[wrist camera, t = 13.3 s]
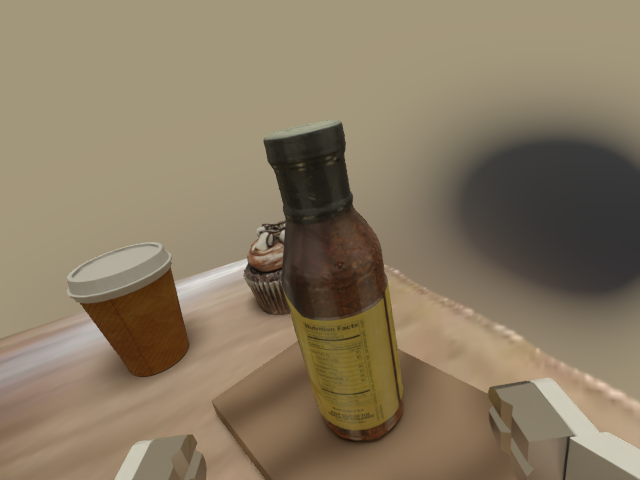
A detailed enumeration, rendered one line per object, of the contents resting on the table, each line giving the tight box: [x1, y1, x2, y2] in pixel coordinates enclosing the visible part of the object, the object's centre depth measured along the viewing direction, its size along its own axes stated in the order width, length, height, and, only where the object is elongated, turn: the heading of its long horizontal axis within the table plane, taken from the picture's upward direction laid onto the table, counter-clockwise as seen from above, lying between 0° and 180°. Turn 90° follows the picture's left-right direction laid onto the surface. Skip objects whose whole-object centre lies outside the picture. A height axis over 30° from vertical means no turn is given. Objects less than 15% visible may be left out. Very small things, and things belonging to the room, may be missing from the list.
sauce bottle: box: [264, 120, 403, 441], centre depth 21 cm, size 6×6×20 cm
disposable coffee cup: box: [67, 242, 189, 376], centre depth 35 cm, size 10×10×12 cm
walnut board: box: [212, 341, 517, 480], centre depth 25 cm, size 20×14×2 cm
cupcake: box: [243, 220, 290, 315], centre depth 42 cm, size 10×10×10 cm
